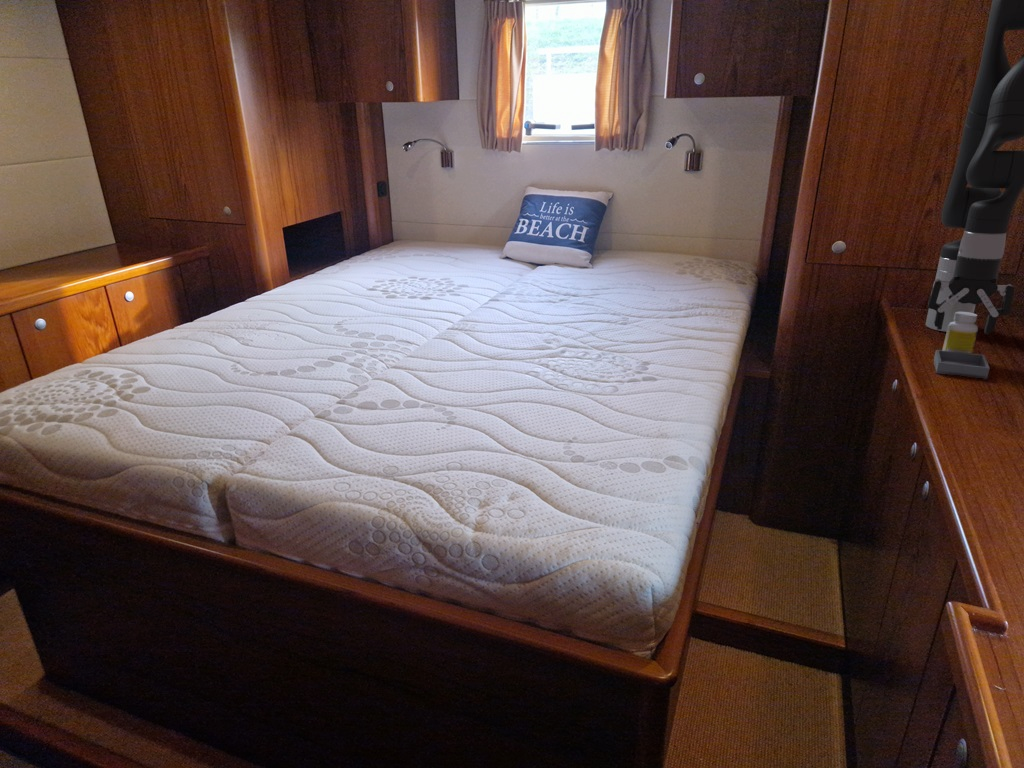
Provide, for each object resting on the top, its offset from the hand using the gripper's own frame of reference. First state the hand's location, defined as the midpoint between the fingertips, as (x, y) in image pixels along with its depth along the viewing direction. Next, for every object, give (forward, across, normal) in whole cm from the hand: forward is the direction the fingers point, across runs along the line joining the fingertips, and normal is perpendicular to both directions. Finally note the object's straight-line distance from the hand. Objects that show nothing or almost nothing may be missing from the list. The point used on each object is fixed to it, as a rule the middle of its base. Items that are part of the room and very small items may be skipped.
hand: (962, 331), depth 140 cm
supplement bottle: (+6, 0, -1) cm, 6 cm away
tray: (+6, 0, +7) cm, 10 cm away
